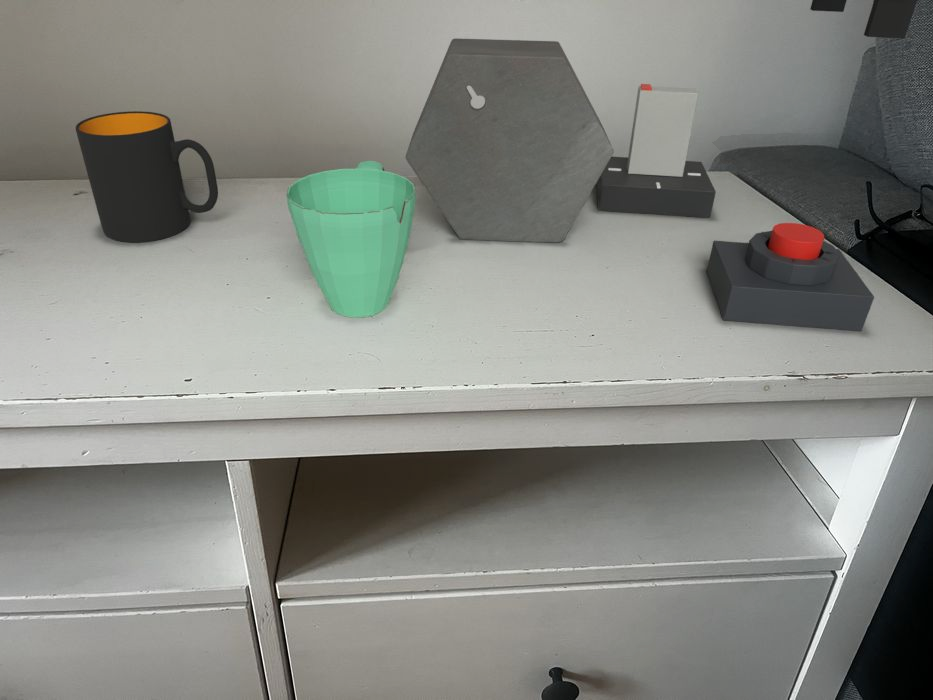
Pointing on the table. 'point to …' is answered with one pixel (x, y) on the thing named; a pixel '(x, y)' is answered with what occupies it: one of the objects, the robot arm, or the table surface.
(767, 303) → the button block
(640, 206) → the lever base
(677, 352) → the table surface
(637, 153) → the upright gray panel
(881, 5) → the robot arm
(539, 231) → the grey hexagonal block
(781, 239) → the button
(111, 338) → the table surface
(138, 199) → the mug
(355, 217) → the mug
